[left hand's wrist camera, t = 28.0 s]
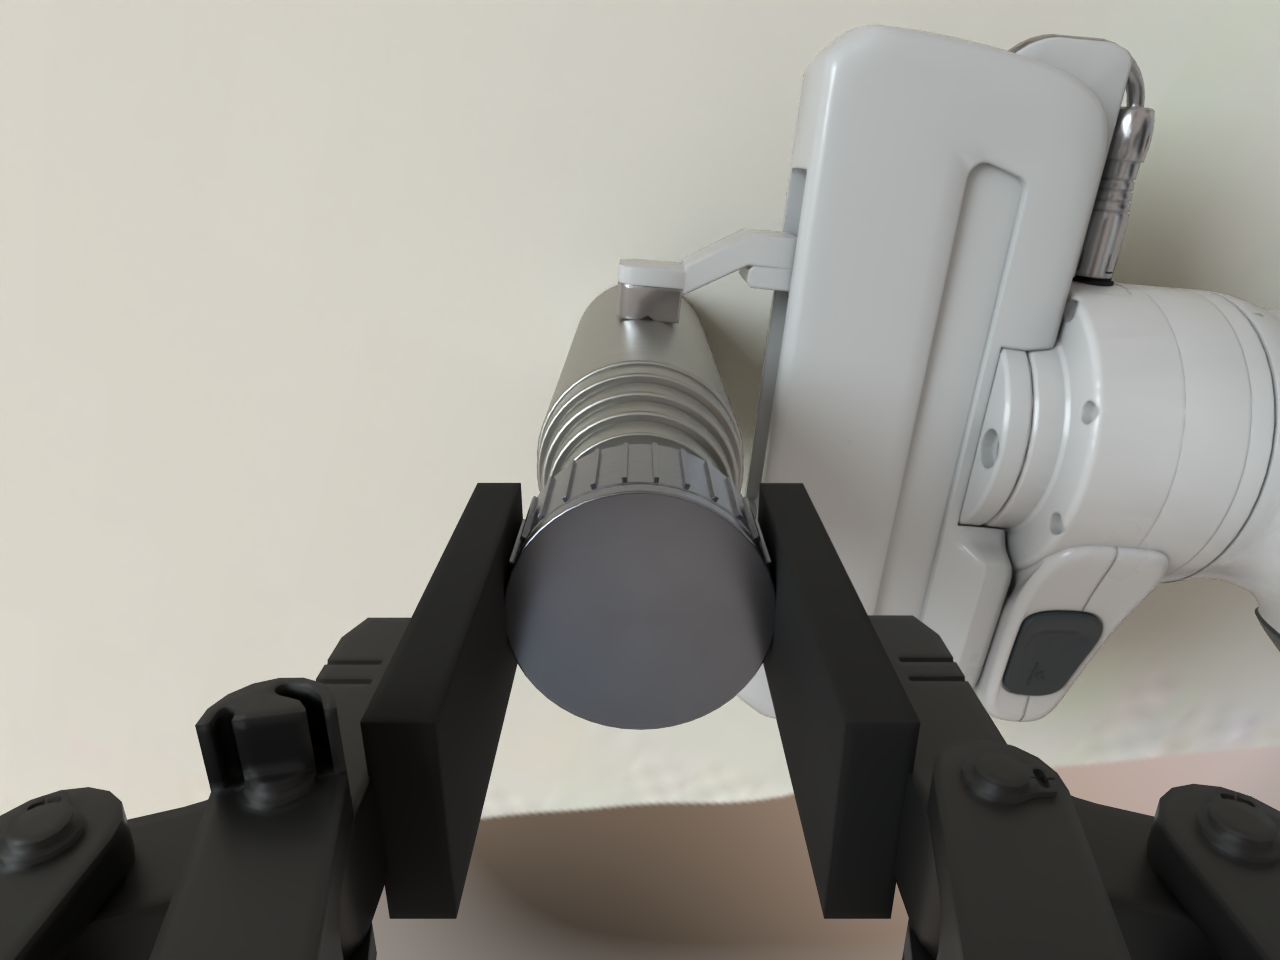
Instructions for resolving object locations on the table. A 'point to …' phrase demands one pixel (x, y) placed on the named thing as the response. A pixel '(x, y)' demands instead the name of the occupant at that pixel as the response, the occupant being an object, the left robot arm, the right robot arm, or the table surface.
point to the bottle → (639, 392)
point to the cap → (640, 588)
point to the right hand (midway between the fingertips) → (610, 393)
